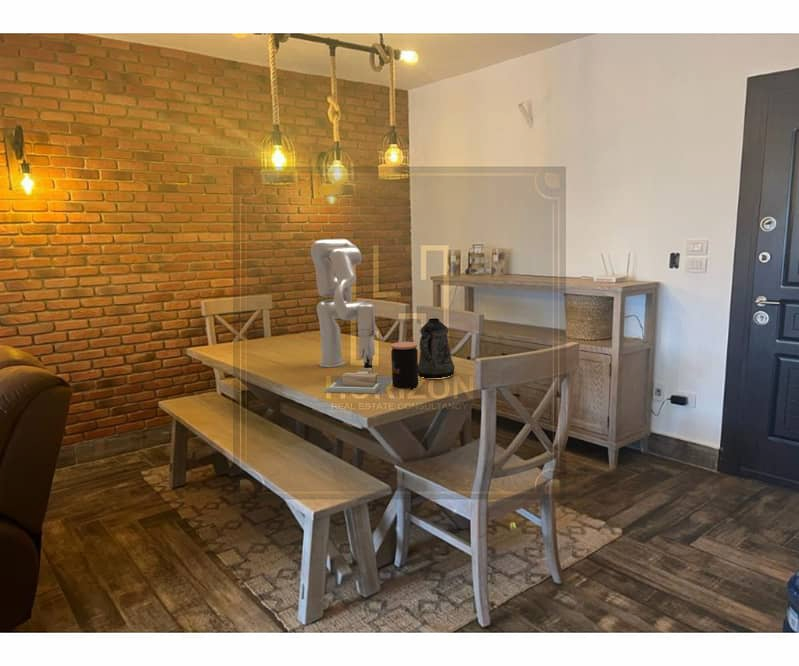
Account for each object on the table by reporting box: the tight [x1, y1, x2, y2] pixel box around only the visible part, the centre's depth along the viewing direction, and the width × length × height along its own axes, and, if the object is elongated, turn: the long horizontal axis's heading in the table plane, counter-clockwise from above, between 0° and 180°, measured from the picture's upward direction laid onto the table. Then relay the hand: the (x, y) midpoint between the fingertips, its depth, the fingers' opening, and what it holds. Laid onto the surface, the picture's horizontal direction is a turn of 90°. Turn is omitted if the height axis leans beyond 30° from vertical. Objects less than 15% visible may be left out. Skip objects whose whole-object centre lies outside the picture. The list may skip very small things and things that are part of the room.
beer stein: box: [418, 317, 455, 379], centre depth 253 cm, size 16×19×25 cm
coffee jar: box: [390, 341, 419, 391], centre depth 237 cm, size 11×11×18 cm
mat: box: [322, 375, 392, 395], centre depth 241 cm, size 26×24×3 cm
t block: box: [341, 367, 379, 386], centre depth 246 cm, size 14×14×4 cm
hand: (368, 373), depth 255 cm, fingers closed
